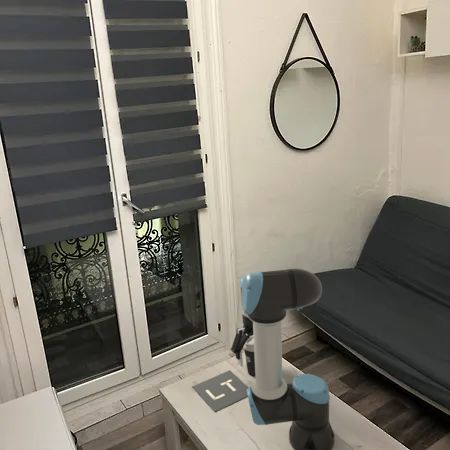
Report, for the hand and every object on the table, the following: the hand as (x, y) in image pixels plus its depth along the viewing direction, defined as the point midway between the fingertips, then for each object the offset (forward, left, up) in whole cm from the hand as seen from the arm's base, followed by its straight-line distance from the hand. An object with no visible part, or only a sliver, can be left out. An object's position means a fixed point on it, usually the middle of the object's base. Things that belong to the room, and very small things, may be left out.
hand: (254, 358), depth 196 cm
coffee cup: (0, 0, -7) cm, 7 cm away
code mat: (-2, +17, -6) cm, 18 cm away
